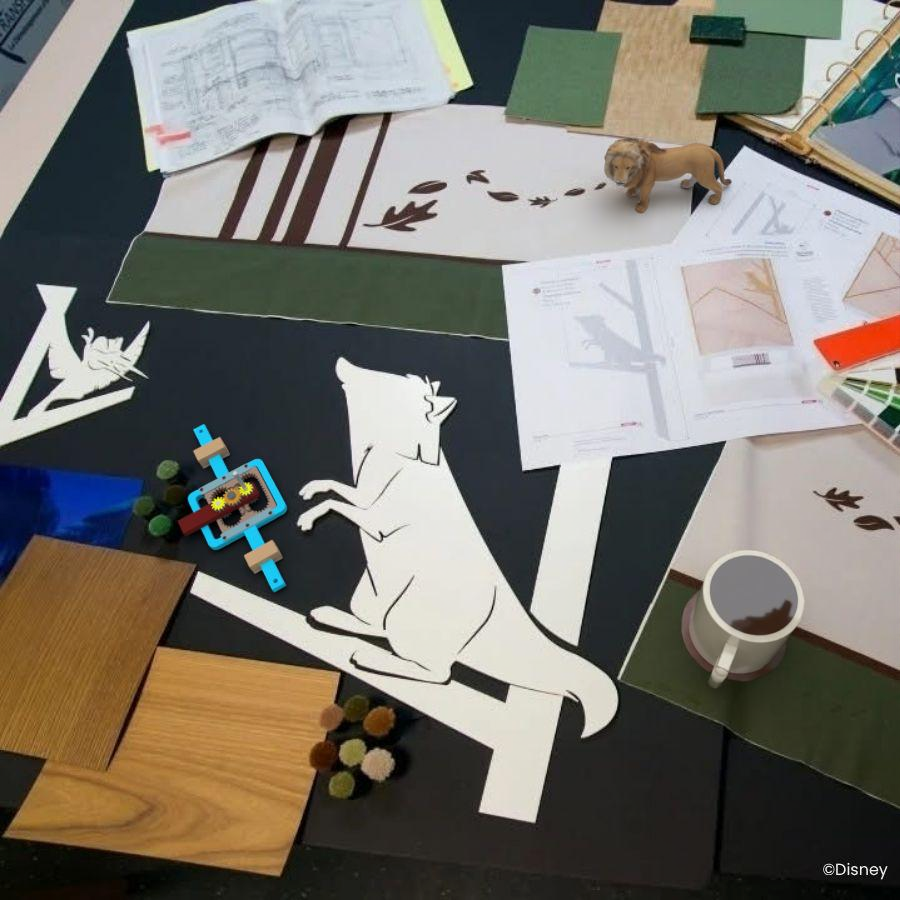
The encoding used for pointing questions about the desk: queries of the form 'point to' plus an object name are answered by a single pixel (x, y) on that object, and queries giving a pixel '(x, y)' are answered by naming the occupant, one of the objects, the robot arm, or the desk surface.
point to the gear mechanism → (235, 506)
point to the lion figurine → (662, 167)
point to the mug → (744, 612)
